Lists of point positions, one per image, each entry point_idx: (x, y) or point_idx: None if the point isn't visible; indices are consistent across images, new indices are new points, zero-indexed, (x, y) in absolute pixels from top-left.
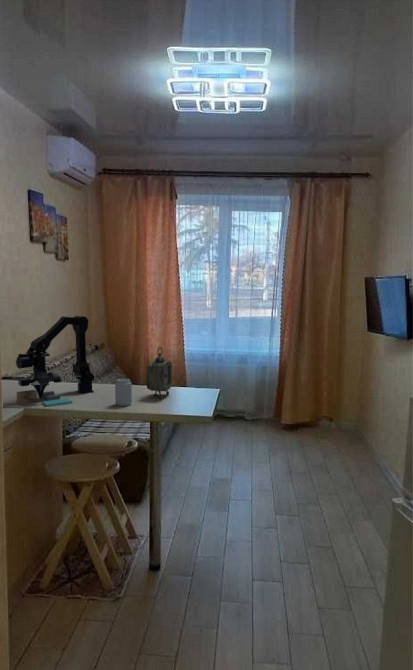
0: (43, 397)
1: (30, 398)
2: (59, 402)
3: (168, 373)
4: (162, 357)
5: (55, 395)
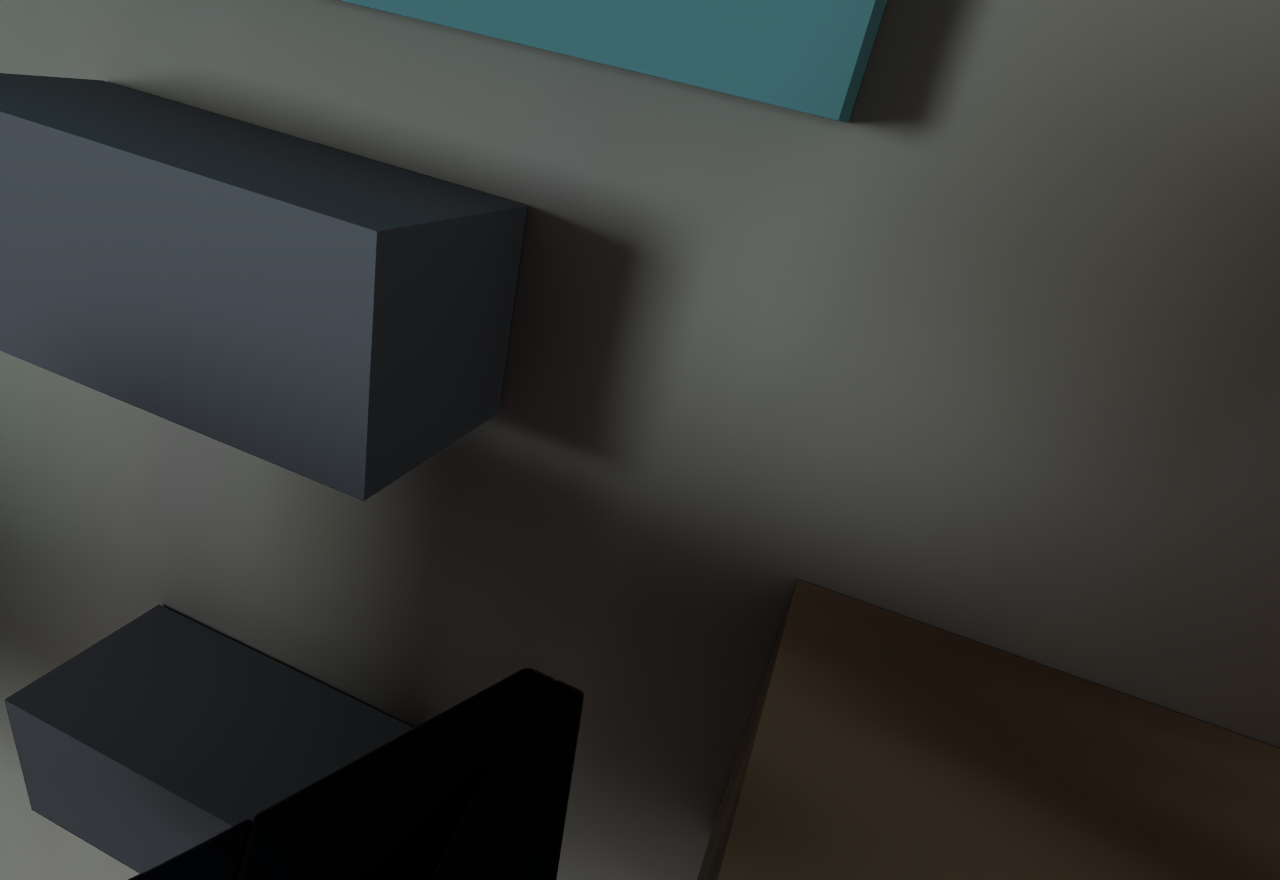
0: None
1: (1120, 844)
2: None
3: None
4: None
5: (9, 207)
